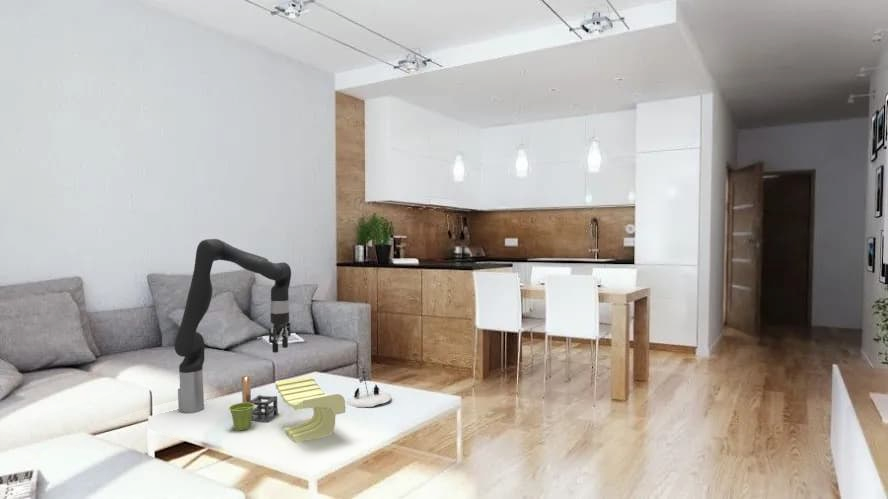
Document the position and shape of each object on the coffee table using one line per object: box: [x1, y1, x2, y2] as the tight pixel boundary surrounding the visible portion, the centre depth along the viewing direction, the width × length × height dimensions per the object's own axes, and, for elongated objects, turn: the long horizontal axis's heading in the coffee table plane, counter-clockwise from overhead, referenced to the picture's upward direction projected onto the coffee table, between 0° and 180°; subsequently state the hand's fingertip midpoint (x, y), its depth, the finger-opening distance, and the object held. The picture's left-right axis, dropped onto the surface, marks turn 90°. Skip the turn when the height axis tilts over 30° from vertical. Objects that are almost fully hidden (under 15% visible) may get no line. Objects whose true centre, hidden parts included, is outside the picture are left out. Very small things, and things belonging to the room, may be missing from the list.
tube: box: [241, 375, 252, 403], centre depth 242 cm, size 4×4×16 cm
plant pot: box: [228, 402, 255, 431], centre depth 227 cm, size 9×9×9 cm
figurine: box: [346, 366, 392, 408], centre depth 258 cm, size 20×18×16 cm
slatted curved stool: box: [275, 375, 346, 443], centre depth 221 cm, size 30×16×18 cm, turn 34°
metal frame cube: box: [248, 394, 279, 424], centre depth 238 cm, size 9×9×8 cm
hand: (280, 350), depth 240 cm, fingers open, 8 cm apart
